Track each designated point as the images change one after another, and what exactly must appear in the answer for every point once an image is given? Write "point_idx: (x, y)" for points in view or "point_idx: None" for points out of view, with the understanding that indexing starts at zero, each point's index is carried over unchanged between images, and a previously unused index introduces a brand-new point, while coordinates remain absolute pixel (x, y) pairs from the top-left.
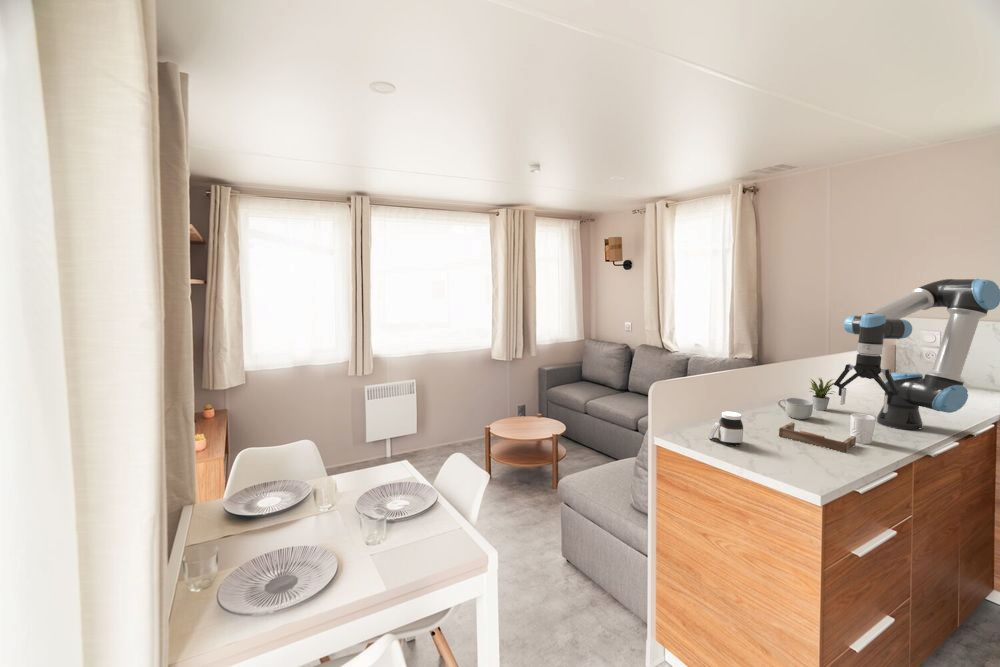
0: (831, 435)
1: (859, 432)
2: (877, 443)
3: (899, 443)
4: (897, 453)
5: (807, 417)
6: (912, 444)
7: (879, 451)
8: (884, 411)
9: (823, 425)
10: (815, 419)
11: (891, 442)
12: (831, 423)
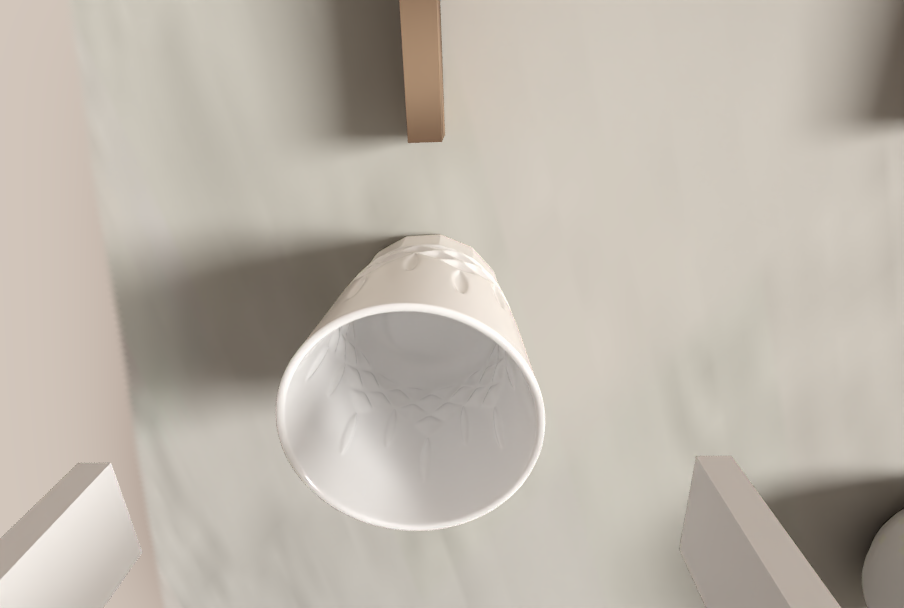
0: (635, 270)
1: (412, 252)
2: None
3: (249, 457)
4: (143, 200)
5: (877, 538)
6: (197, 495)
7: (236, 132)
8: (79, 479)
9: None
10: None
11: None
12: None
